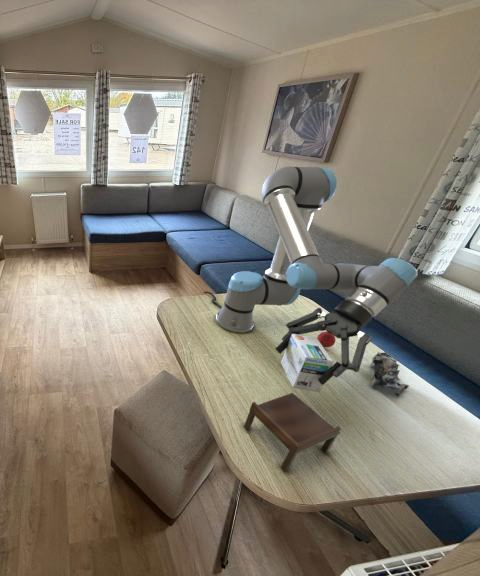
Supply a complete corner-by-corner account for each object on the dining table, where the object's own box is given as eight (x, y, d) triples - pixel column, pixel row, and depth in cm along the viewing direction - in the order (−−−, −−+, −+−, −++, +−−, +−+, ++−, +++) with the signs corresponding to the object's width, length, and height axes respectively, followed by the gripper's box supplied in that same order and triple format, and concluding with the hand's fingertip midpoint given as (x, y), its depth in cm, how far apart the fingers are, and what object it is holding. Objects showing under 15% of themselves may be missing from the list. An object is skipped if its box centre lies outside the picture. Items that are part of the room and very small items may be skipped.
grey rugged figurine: (353, 371, 106) (381, 341, 107) (353, 385, 112) (379, 357, 114) (395, 393, 96) (425, 361, 98) (392, 408, 103) (420, 377, 105)
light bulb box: (319, 393, 81) (335, 361, 76) (292, 388, 82) (306, 357, 77) (303, 365, 91) (317, 336, 85) (279, 362, 92) (291, 332, 87)
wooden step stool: (242, 426, 89) (252, 402, 84) (283, 411, 94) (294, 387, 89) (284, 472, 77) (298, 447, 73) (328, 452, 82) (343, 427, 78)
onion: (328, 353, 119) (336, 337, 115) (311, 346, 123) (319, 330, 119) (333, 347, 122) (341, 331, 118) (316, 340, 126) (324, 324, 122)
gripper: (311, 281, 89) (257, 334, 91) (412, 327, 69) (340, 394, 71) (317, 294, 93) (265, 344, 95) (414, 341, 73) (346, 403, 76)
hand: (297, 365), depth 83 cm, fingers closed on light bulb box, 12 cm apart
